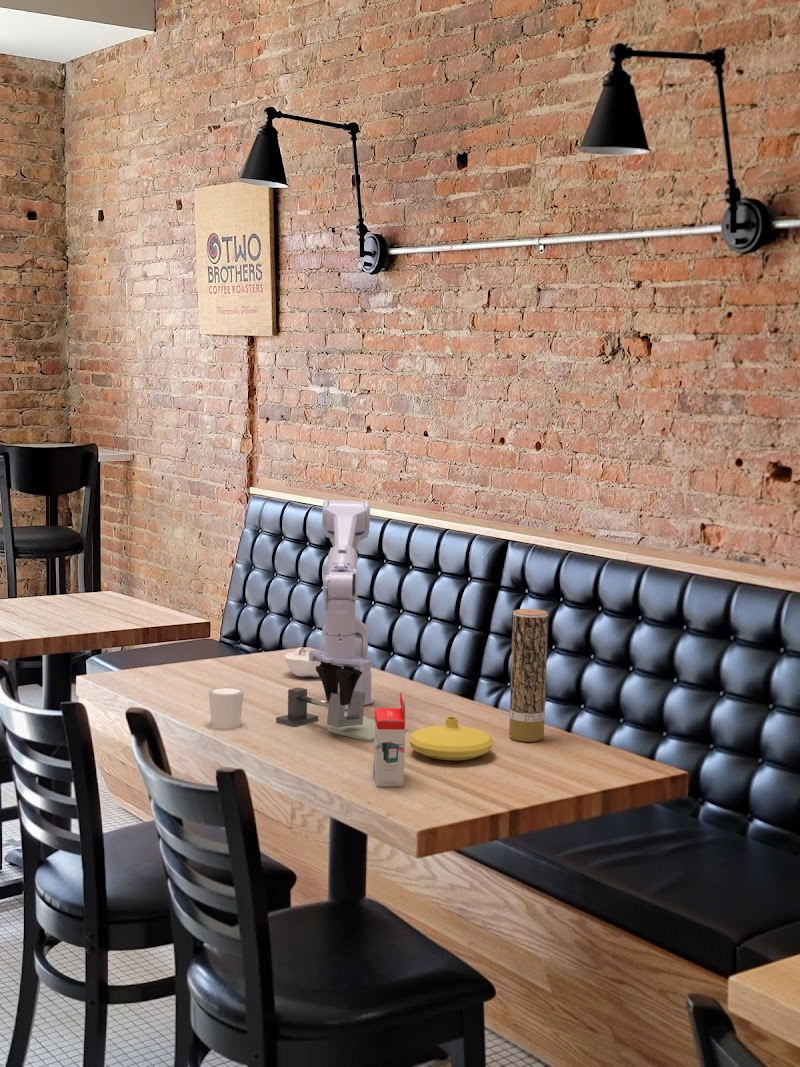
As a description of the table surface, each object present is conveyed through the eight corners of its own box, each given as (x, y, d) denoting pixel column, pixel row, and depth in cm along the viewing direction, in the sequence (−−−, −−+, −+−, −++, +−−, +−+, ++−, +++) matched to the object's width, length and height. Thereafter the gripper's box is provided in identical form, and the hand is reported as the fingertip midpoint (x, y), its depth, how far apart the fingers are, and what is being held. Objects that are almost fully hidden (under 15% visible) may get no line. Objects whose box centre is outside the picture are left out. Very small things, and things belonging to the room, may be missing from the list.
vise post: (300, 716, 274) (301, 684, 273) (346, 727, 266) (346, 695, 265) (276, 722, 269) (276, 690, 268) (321, 734, 261) (322, 701, 260)
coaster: (365, 721, 271) (365, 718, 271) (406, 731, 264) (407, 728, 264) (328, 731, 263) (328, 728, 263) (369, 741, 256) (370, 738, 256)
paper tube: (547, 736, 263) (551, 610, 260) (539, 744, 257) (543, 616, 254) (513, 732, 265) (517, 607, 262) (505, 740, 259) (509, 613, 256)
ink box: (372, 772, 236) (374, 691, 234) (400, 772, 236) (402, 691, 235) (375, 787, 228) (377, 703, 226) (404, 787, 228) (406, 703, 226)
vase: (478, 771, 238) (480, 733, 238) (396, 761, 244) (396, 723, 243) (503, 749, 253) (504, 713, 252) (424, 740, 258) (425, 704, 258)
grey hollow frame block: (351, 721, 264) (354, 690, 264) (362, 724, 262) (365, 693, 262) (327, 724, 259) (329, 692, 259) (338, 727, 257) (341, 695, 257)
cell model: (320, 684, 304) (321, 654, 303) (275, 678, 309) (275, 649, 308) (341, 675, 313) (342, 647, 312) (296, 669, 318) (297, 641, 317)
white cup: (237, 730, 262) (237, 695, 261) (203, 728, 263) (203, 693, 262) (247, 722, 269) (248, 688, 268) (215, 719, 270) (215, 685, 269)
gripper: (298, 630, 259) (297, 699, 260) (353, 641, 250) (352, 712, 251) (323, 626, 264) (322, 693, 266) (378, 636, 255) (377, 706, 256)
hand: (338, 702), depth 259 cm, fingers closed on grey hollow frame block, 3 cm apart
